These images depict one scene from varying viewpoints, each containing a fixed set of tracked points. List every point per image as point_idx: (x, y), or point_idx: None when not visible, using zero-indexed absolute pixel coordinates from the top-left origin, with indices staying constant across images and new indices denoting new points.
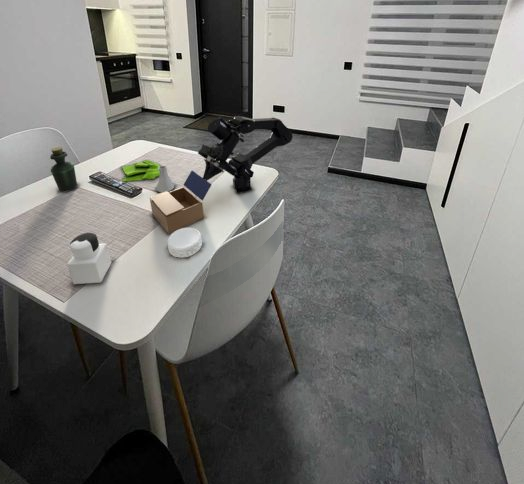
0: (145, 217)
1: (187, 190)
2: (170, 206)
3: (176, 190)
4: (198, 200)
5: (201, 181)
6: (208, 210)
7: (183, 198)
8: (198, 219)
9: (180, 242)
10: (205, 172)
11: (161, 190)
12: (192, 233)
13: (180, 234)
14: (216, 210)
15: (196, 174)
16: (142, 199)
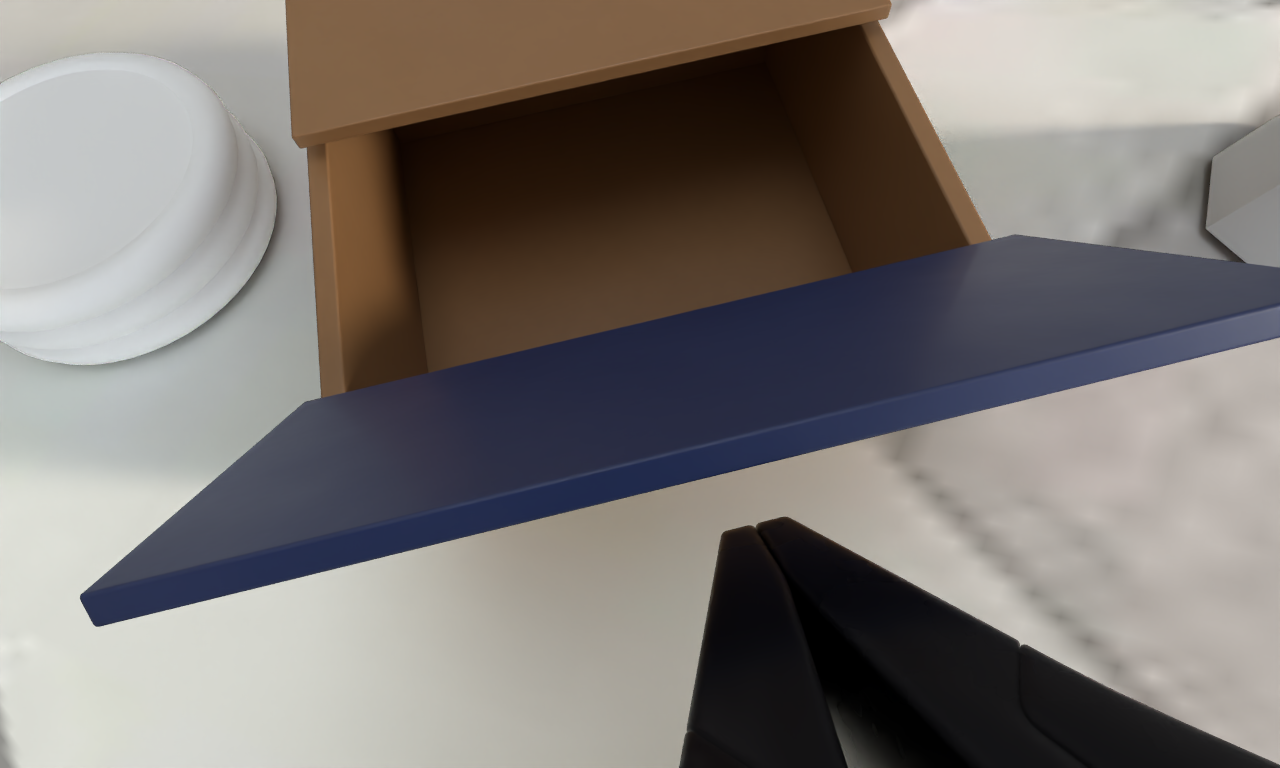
0: None
1: None
2: (437, 2)
3: (915, 151)
4: None
5: (597, 429)
6: (550, 603)
7: None
8: None
9: (24, 131)
10: (909, 646)
11: (1237, 149)
12: (51, 246)
13: (129, 148)
14: (490, 712)
15: (1015, 357)
16: (1103, 4)
